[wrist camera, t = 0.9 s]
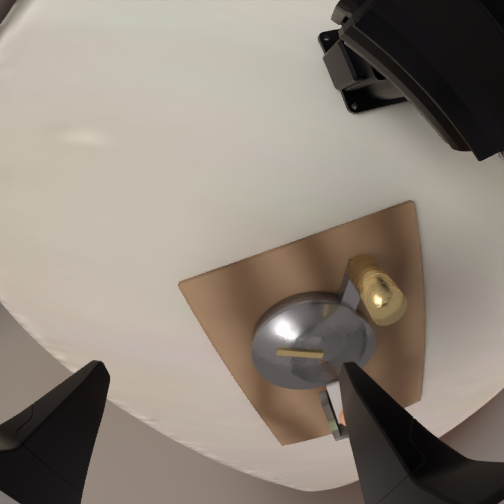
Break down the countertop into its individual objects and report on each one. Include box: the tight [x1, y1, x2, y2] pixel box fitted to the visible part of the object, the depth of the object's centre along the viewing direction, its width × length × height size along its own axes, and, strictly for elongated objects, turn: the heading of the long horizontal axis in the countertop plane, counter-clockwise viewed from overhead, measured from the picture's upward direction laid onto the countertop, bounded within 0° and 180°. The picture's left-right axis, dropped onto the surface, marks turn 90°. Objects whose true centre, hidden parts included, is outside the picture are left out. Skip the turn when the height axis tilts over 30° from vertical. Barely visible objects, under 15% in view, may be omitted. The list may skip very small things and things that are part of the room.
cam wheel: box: [252, 254, 407, 390], centre depth 21 cm, size 12×12×7 cm
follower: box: [326, 381, 346, 426], centre depth 26 cm, size 3×8×4 cm, turn 21°
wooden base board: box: [178, 200, 425, 446], centre depth 25 cm, size 20×28×3 cm
